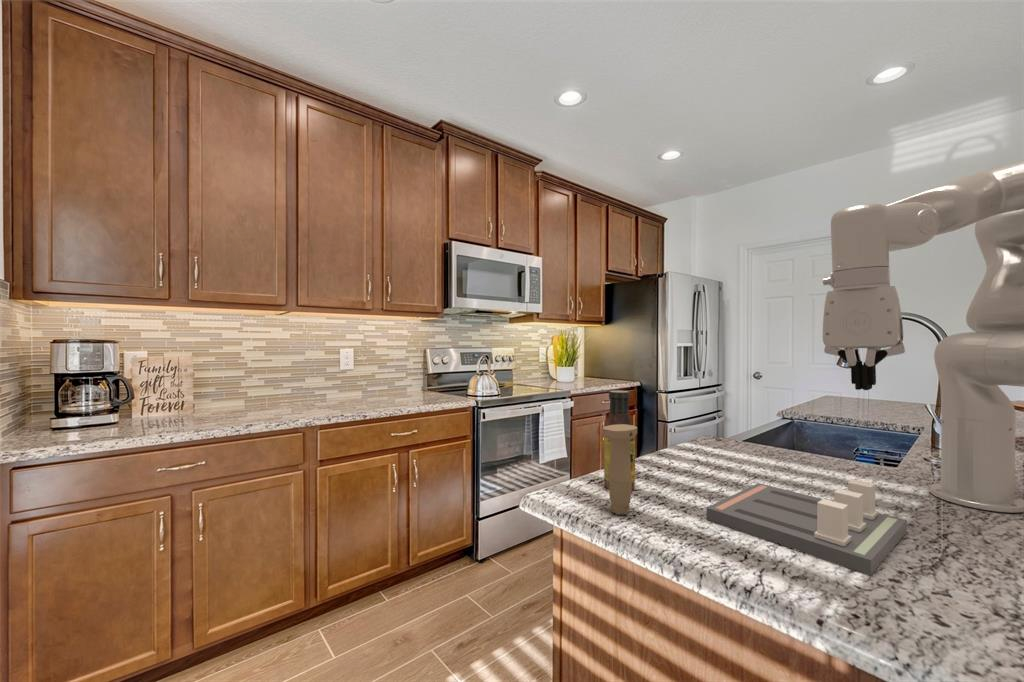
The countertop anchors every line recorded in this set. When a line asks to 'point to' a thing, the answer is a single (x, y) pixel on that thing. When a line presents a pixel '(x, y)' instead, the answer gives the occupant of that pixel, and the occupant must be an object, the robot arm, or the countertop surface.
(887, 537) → the board
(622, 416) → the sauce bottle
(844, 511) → the block
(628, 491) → the handle
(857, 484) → the block
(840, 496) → the block
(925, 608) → the countertop surface
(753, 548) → the countertop surface
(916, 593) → the countertop surface
